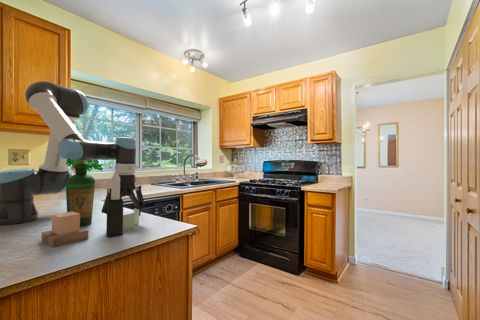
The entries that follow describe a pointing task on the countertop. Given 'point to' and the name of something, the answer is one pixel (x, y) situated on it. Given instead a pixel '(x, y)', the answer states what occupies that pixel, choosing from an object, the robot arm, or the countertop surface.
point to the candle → (115, 209)
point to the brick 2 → (128, 220)
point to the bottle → (81, 193)
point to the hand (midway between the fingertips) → (124, 226)
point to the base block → (64, 237)
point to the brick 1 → (65, 223)
